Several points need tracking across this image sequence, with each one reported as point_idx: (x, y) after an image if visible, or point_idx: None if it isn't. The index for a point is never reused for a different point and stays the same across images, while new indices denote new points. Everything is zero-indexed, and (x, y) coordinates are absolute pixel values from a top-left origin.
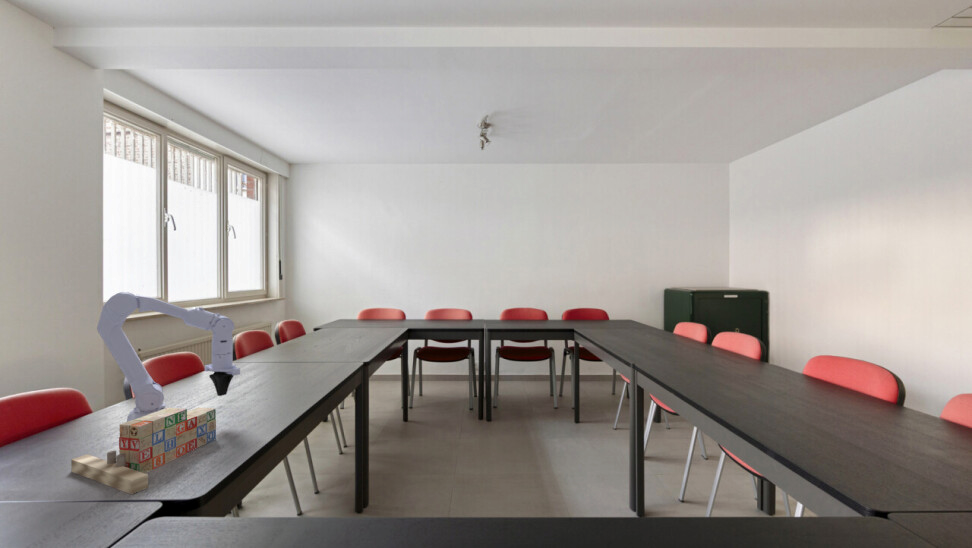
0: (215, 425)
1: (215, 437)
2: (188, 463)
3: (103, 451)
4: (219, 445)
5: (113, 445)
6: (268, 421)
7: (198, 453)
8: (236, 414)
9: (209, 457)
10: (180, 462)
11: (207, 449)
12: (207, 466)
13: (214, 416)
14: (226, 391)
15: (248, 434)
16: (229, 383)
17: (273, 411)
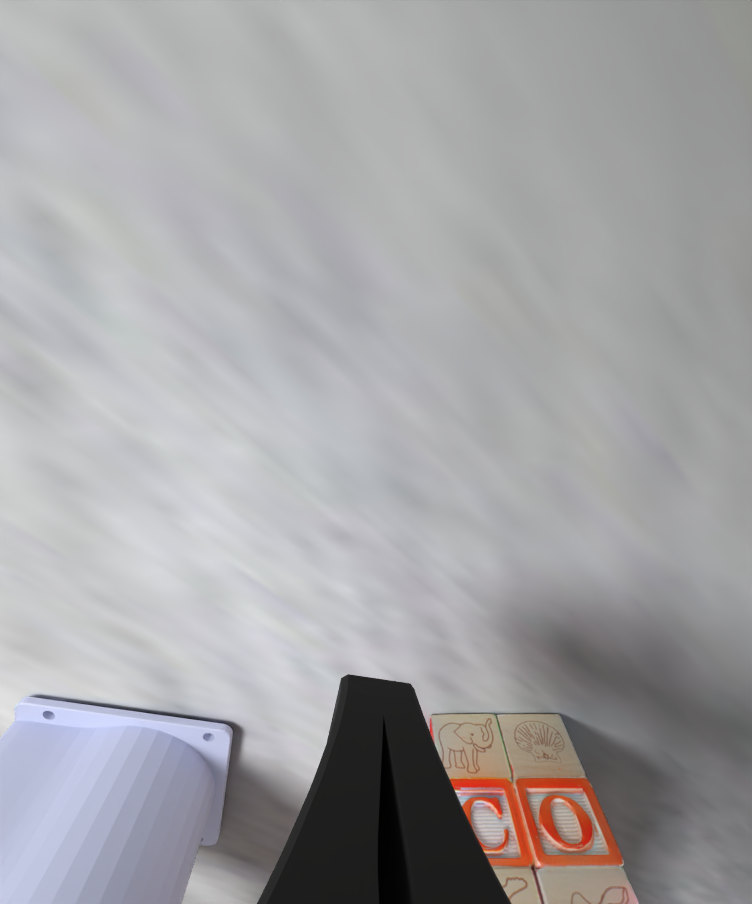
0: (600, 810)
1: (564, 726)
2: None
3: None
4: (642, 760)
5: None
6: (748, 379)
7: None
8: (298, 276)
9: (687, 850)
10: None
11: (610, 800)
12: (738, 898)
13: (631, 901)
14: (425, 734)
15: (726, 620)
16: (504, 897)
17: (647, 86)
